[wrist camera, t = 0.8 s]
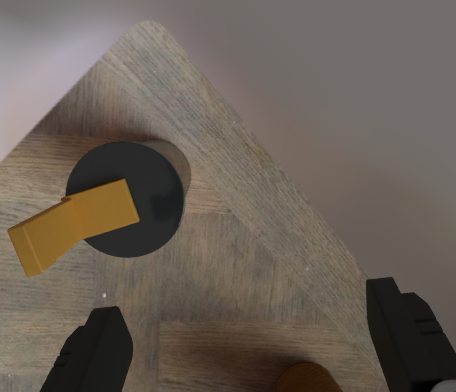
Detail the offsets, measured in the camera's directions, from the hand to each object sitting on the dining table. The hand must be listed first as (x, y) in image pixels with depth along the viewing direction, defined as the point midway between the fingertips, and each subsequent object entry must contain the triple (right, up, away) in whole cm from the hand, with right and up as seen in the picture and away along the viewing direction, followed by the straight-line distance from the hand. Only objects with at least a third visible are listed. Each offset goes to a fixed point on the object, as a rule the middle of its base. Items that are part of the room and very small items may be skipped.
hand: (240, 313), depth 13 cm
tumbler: (-7, +6, +24) cm, 26 cm away
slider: (-8, +3, +12) cm, 15 cm away
